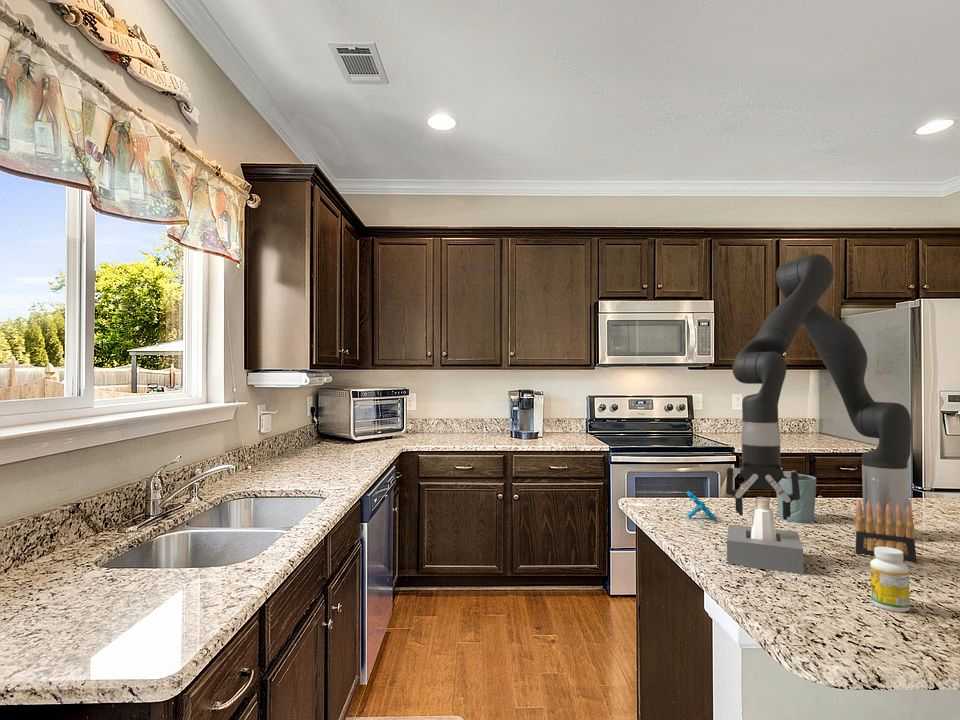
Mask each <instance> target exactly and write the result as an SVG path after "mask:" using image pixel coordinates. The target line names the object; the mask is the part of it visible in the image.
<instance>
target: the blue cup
mask: <svg viewBox="0 0 960 720" xmlns="http://www.w3.org/2000/svg"><path fill="white" fill-rule="evenodd" d="M797 474H798V482H799V492H800V499H799V500H794V501H792V502H791V503H790V510H791V515H790V517H787V520H786V521H785V522H788V521H790V522H789V523H793V522H796V523H795V524H812V523H811V522H813V523H814V522H815V516H816V515H815V507H816V487H817V477H815V476H813V475H808V474H803V473H802V474H801V473H797ZM779 484H780V486H781V487H782V488H783V489H784V491H785V492H786V493H787V494H792V483H791V482H790V481H788V480H787V477H785V476H783V478H782V479H781V480H780V481H779ZM775 492H776V491H775ZM776 499H777V508H778V509H777V511H778V518H779V519H780V518H781V519H780V520H782V519H783V503H782V500H783V499H782V497H781V496H780V495H779V494H778V493H777V492H776ZM782 521H784V519H783V520H782Z"/></svg>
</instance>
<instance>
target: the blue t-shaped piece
mask: <svg viewBox="0 0 960 720" xmlns="http://www.w3.org/2000/svg"><path fill="white" fill-rule="evenodd" d="M686 494H687V496H688V497H689V498H690V499H691V500H692V502H694V504H696V505H695V506H694V507H693V508H694V509H692V511H691V512H689V513H688V514H687V515H686V517H688V519H691V518H692V517H693V516H694V515H696V513H699V512H701V510H702V511H703V513H704V514H705V515H706V516H708V517H709V518H710V519H711V521H716V520H717V517H715V515H714V513H713V512H712V511H711V510H710V509H709V508H708V507H707V506H706V504H705V502H704V501H702V500H700V499H699V498H698V497H697V496H696V495H695V494H694V493H693V492H691V491H690V490H688V491H686Z"/></svg>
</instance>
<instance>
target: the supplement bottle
mask: <svg viewBox="0 0 960 720" xmlns="http://www.w3.org/2000/svg"><path fill="white" fill-rule="evenodd" d="M874 555H875V556H876V557H875V558H873V559H871V561H870V562H869V568H870V569H869V570H870V595H871V596H870V597H871V603H872V604H873V605H874V606H876V607H877V608H879V609H883V610H885V611H891V612H896V613H906V612H908V611H909V610H910V609H911V595H910V594H911V593H910V569H909V567H908V565H906V564H905V563H904V561H903V559H904V558H903V552H902V551H901V550H898V549H894V548H890V547H875V548H874Z"/></svg>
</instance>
